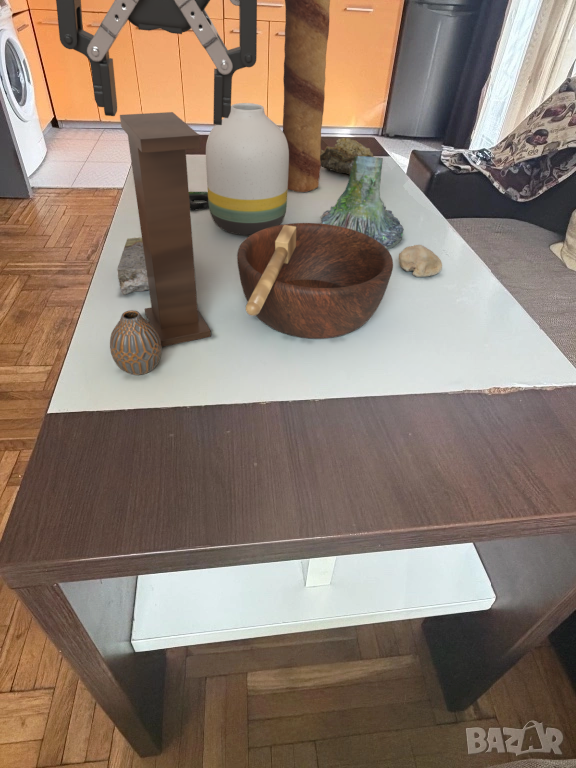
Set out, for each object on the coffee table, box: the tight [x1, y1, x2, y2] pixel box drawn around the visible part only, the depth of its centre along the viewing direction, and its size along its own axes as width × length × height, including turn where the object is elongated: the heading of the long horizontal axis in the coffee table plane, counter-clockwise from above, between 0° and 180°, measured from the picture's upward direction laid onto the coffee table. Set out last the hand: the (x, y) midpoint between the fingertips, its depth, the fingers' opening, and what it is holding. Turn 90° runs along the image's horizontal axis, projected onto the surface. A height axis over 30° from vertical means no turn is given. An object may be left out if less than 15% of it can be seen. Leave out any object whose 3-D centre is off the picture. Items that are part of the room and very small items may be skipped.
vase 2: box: [205, 102, 289, 236], centre depth 109 cm, size 17×17×24 cm
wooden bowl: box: [236, 222, 394, 340], centre depth 87 cm, size 25×25×10 cm
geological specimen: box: [116, 236, 149, 296], centre depth 95 cm, size 11×6×15 cm
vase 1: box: [109, 309, 163, 376], centre depth 73 cm, size 7×7×9 cm
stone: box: [398, 244, 443, 278], centre depth 102 cm, size 7×6×8 cm
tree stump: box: [319, 156, 404, 250], centre depth 114 cm, size 18×20×18 cm
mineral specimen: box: [320, 137, 375, 176], centre depth 145 cm, size 14×13×10 cm
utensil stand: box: [119, 111, 212, 348], centre depth 74 cm, size 12×8×30 cm, turn 25°
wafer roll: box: [282, 0, 331, 193], centre depth 124 cm, size 10×11×45 cm
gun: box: [189, 191, 209, 211], centre depth 124 cm, size 16×2×10 cm
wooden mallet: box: [245, 225, 296, 317], centre depth 76 cm, size 20×4×2 cm
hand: (164, 118), depth 43 cm, fingers open, 8 cm apart
